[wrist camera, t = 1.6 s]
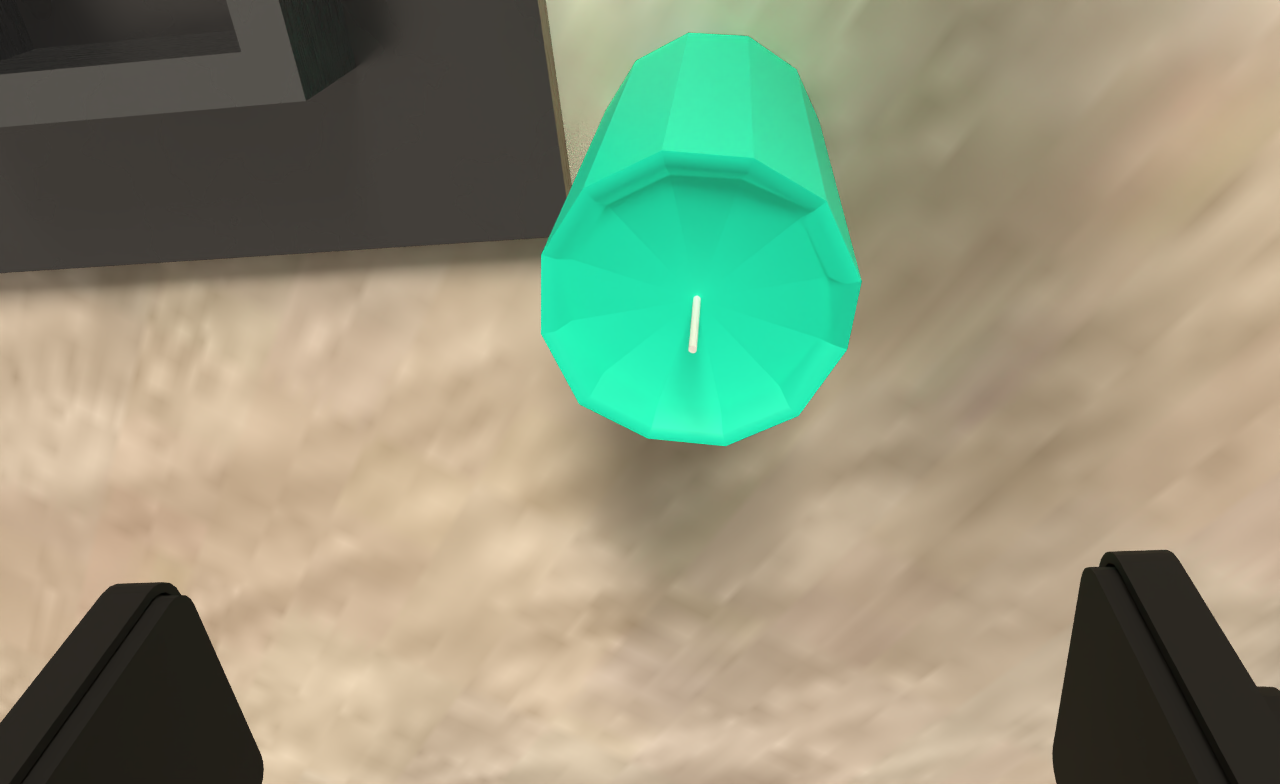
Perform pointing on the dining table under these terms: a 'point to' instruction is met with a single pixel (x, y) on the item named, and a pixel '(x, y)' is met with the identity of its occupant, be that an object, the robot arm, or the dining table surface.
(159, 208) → the socket holder
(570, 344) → the candle
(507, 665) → the dining table surface
